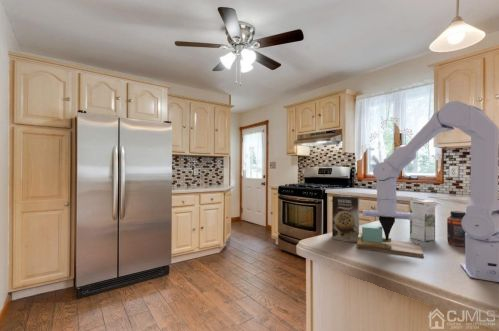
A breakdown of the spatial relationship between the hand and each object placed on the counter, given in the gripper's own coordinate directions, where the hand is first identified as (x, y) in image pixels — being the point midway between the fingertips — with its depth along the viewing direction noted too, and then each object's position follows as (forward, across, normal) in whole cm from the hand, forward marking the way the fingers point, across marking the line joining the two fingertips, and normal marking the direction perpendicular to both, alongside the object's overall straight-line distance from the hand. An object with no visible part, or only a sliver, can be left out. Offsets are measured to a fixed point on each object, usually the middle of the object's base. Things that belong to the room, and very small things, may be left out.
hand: (386, 239), depth 84 cm
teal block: (+2, -4, -1) cm, 5 cm away
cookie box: (+3, -14, +4) cm, 14 cm away
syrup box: (+3, +12, +17) cm, 21 cm away
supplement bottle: (+3, +22, +15) cm, 26 cm away
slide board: (+2, 0, 0) cm, 3 cm away
